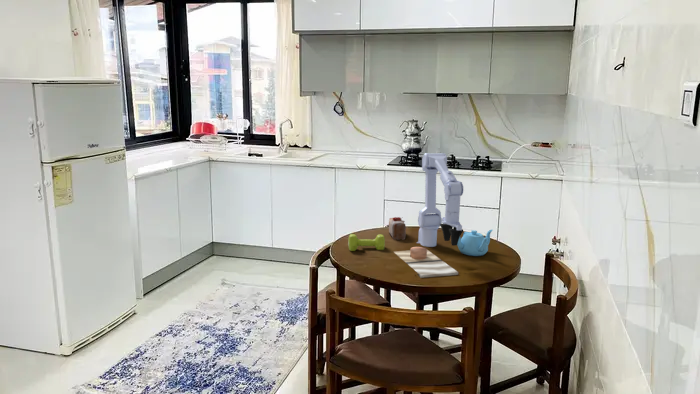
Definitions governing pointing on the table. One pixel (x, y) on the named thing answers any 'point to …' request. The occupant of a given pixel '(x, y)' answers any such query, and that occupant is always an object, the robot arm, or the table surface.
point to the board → (427, 265)
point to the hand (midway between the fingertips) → (450, 242)
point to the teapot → (474, 243)
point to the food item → (397, 228)
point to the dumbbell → (366, 242)
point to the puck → (418, 253)
